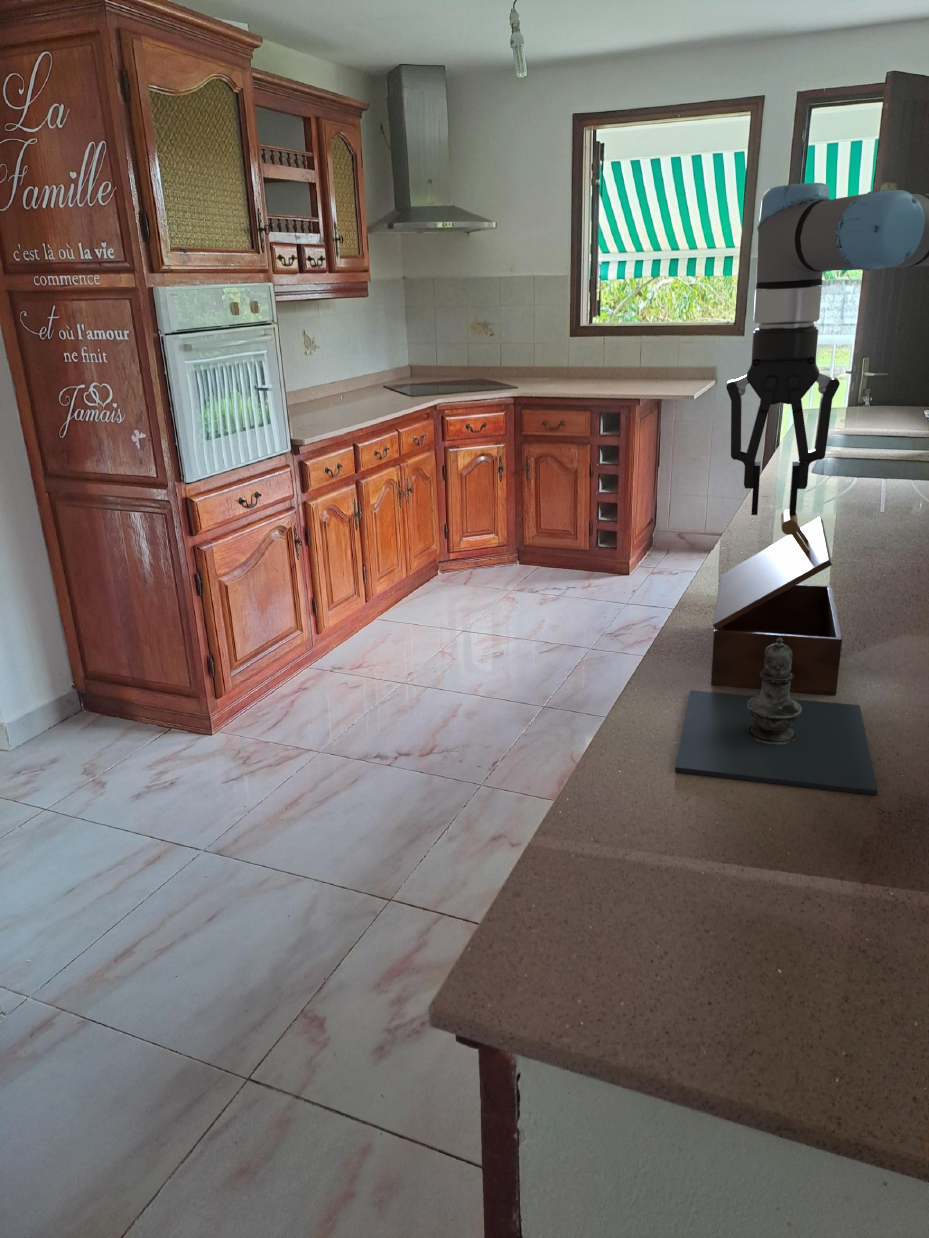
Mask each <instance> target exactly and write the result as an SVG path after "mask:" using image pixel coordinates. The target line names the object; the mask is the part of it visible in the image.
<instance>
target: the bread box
mask: <svg viewBox="0 0 929 1238" xmlns="http://www.w3.org/2000/svg"><path fill="white" fill-rule="evenodd" d="M837 611H838V610H837V607H836V602H835V596H834V592H833V586H832V585H824V584H804V583H799V584H797V585H795V586H794V587H792V588H790V589H788V590H786V591H785V592H783V593H781V594H779V595H777V596H776V597H774V598H772V599H770V600H769V601H767V602H765V603H763V604H761V605H760V606H758V607H756V608H754V609H752V610H751V611H749V612H747V613H745V614H744V615H742V616H740V617H738V618H736V619H735V620H733V621H731V622H729V623H728V624H726V625H724V626H722V627H720V628H719V629H717V630H716V629H715V628H714V627H713V640H712V659H711V660H712V661H711V674H710V675H711V677H710V685H711V686H720V687H731V688H732V687H734V688H747V689H756V690H758V689H759V690H761V689H762V678H761V676H760V672H761V671H763V670H764V660H765V650H766V648H767V647H768V646H769V645H771V644H775V643H777V639H778V638H779V637H781V638H782V640H783V641H782V643H783V644H785V645H787V646H788V647H790V649H791V650H792V664H791V673H792V674H793V675H794V679H793V680H792V681H791V684H790V693H791V692H793V693H802V694H814V695H815V694H816V695H828V696H837V690H838V680H839V671H840V663H841V653H842V644H843V637H842V632H841V628H840V622H839V617H838V612H837Z"/></svg>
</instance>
